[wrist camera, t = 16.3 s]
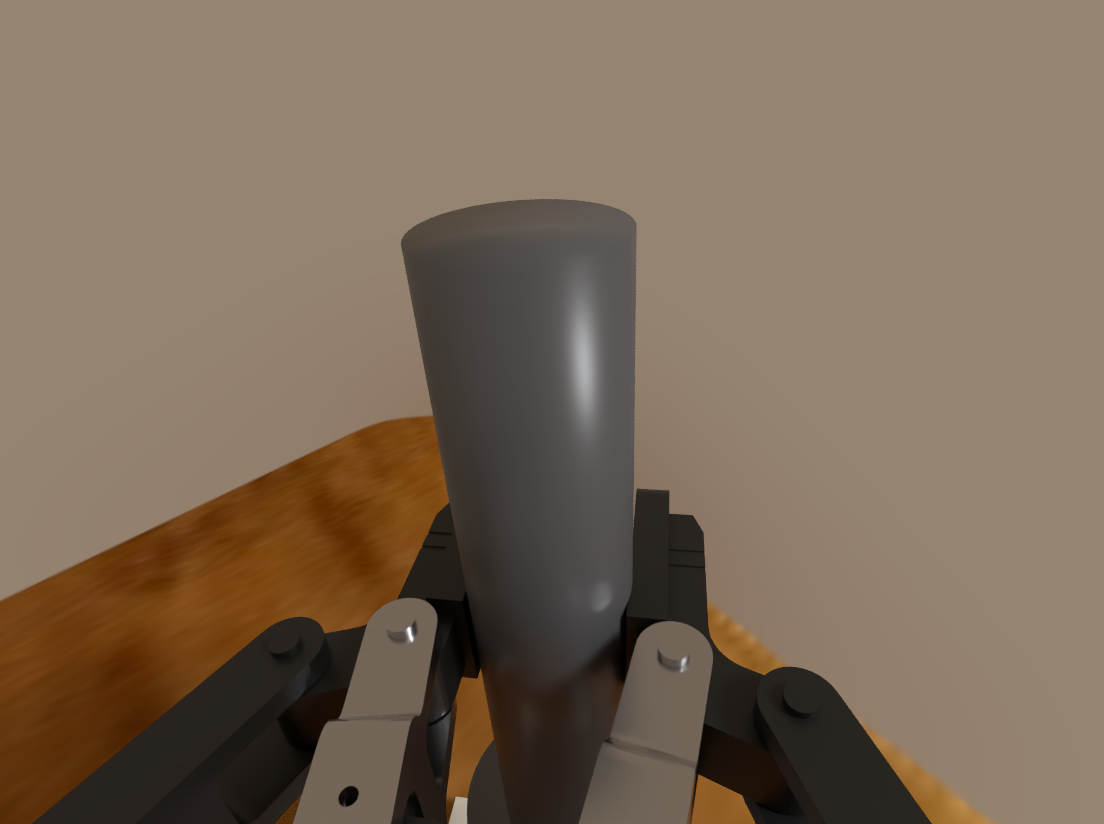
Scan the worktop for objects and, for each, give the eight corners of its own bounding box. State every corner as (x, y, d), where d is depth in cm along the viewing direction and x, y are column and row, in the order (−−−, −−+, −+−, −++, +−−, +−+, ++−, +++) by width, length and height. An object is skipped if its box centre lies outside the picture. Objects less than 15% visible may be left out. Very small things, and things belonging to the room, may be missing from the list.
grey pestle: (464, 968, 16) (231, 304, 7) (507, 771, 20) (403, 186, 11) (664, 1007, 15) (734, 309, 6) (667, 792, 19) (710, 179, 10)
